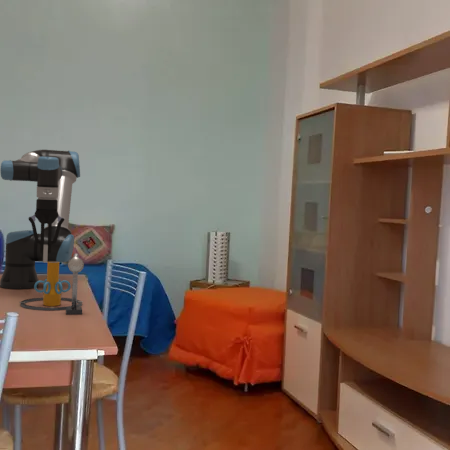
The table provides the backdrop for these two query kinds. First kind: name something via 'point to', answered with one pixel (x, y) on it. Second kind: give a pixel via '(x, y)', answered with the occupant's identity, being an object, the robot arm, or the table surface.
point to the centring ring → (46, 307)
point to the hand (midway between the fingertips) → (45, 261)
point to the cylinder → (52, 285)
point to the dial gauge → (75, 283)
